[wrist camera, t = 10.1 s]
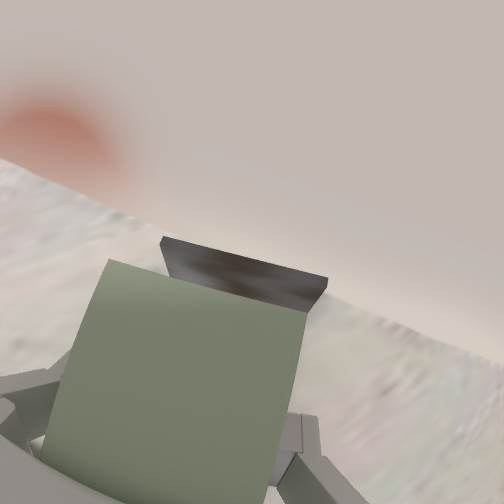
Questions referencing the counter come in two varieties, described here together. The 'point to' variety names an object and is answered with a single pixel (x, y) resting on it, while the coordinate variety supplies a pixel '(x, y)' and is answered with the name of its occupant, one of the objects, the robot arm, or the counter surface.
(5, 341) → the counter surface
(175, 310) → the sage green box
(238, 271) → the bookend
